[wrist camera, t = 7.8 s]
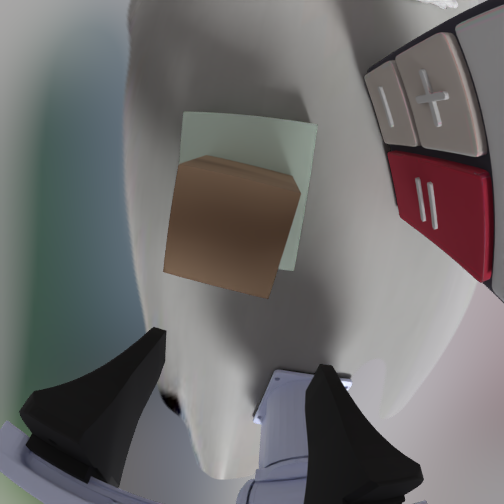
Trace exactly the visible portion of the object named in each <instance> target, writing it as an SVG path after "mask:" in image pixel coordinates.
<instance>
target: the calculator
mask: <svg viewBox="0 0 504 504" xmlns="http://www.w3.org/2000/svg"><path fill="white" fill-rule="evenodd" d="M364 79H365V82H366V85H367V88H368V91H369V94H370V97H371V100H372V103H373V106H374V109H375V112H376V115H377V119H378V122H379V125H380V129H381V132H382V136H383V139H384V142H385V143H387V144H390V147H391V151H390V152H388V153H387V155H388V160H389V164H390V168H391V173H392V178H393V183H394V188H395V193H396V198H397V204H398V210H399V215H400V217H401V218H402V219H403V220H404V221H406V222H407V223H408V224H410V225H411V226H412V227H414V228H415V229H416V230H418V231H419V232H420V233H422V234H423V235H424V236H425V237H427V238H428V239H429V240H430V241H432V242H433V243H434V244H435V245H437V246H438V247H439V248H440V249H442V250H443V251H444V252H445V253H446V254H448V255H449V256H450V257H451V258H452V259H454V260H455V261H456V262H457V263H458V264H459V265H461V266H462V267H463V268H464V269H465V270H466V271H467V272H468V273H470V274H471V275H472V276H473V277H474V278H475V279H476V280H478V281H479V282H481V283H483V284H485V285H486V286H487V287H488V288H489V289H490V290H491V291H492V292H493V293H494V294H495V295H496V296H497V297H498V298H499V299H500V300H501V301H502V302H503V303H504V0H487V1H485V2H483V3H481V4H479V5H477V6H475V7H473V8H471V9H468V10H466V11H464V12H463V13H461V14H459V15H457V16H455V17H453V18H451V19H449V20H447V21H445V22H444V23H442V24H440V25H438V26H436V27H435V28H433V29H431V30H429V31H428V32H426V33H424V34H422V35H421V36H419V37H417V38H416V39H414V40H412V41H411V42H409V43H407V44H406V45H404V46H403V47H401V48H399V49H398V50H396V51H395V52H393V53H392V54H390V55H388V56H387V57H385V58H384V59H382V60H381V61H379V62H378V63H376V64H375V65H373V66H372V67H370V68H369V69H368V74H366V75H365V76H364Z"/></svg>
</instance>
